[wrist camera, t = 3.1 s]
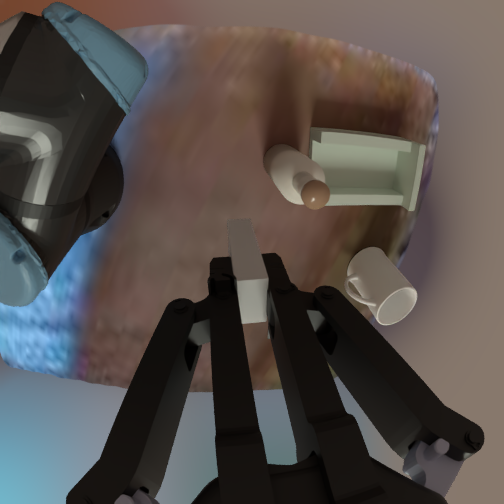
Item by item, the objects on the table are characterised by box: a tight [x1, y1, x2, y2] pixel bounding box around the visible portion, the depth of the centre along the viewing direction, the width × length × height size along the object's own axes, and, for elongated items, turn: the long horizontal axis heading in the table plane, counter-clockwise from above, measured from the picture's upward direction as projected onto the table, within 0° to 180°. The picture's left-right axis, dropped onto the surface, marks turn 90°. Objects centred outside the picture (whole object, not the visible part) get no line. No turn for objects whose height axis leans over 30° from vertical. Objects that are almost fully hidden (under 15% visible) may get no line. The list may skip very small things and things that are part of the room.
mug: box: [344, 247, 417, 325], centre depth 44 cm, size 12×8×12 cm
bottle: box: [263, 144, 330, 209], centre depth 31 cm, size 5×5×14 cm
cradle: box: [309, 127, 426, 211], centre depth 36 cm, size 16×10×6 cm, turn 90°
